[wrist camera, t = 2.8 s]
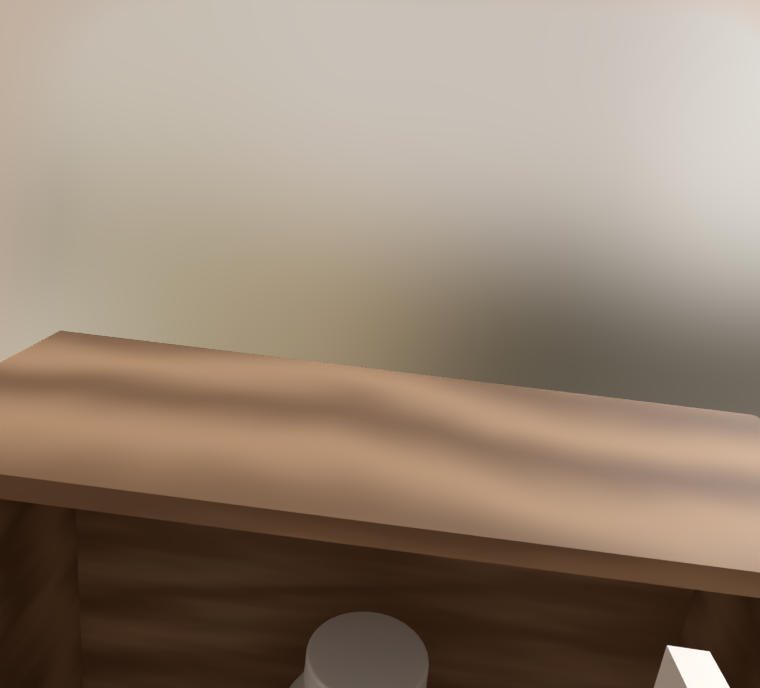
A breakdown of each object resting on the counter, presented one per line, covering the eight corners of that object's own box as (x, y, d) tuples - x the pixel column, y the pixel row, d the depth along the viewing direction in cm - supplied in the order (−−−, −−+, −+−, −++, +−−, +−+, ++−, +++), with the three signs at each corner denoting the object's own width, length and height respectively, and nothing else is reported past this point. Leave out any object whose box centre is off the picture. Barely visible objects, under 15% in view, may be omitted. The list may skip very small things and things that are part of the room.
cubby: (752, 1082, 24) (971, 599, 18) (-86, 953, 25) (-169, 452, 19) (646, 774, 36) (755, 415, 29) (76, 694, 37) (60, 330, 30)
